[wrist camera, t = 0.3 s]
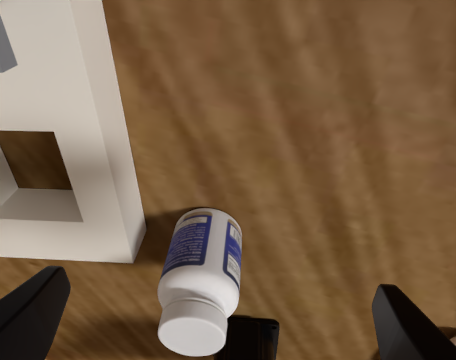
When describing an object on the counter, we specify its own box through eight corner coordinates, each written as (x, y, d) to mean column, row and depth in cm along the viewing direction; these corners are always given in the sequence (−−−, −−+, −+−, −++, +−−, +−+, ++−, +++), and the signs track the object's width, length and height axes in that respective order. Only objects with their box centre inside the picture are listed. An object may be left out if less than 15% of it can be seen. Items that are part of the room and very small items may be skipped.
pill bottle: (168, 244, 28) (136, 349, 21) (185, 197, 25) (155, 299, 18) (229, 262, 29) (219, 370, 22) (253, 219, 26) (250, 326, 19)
